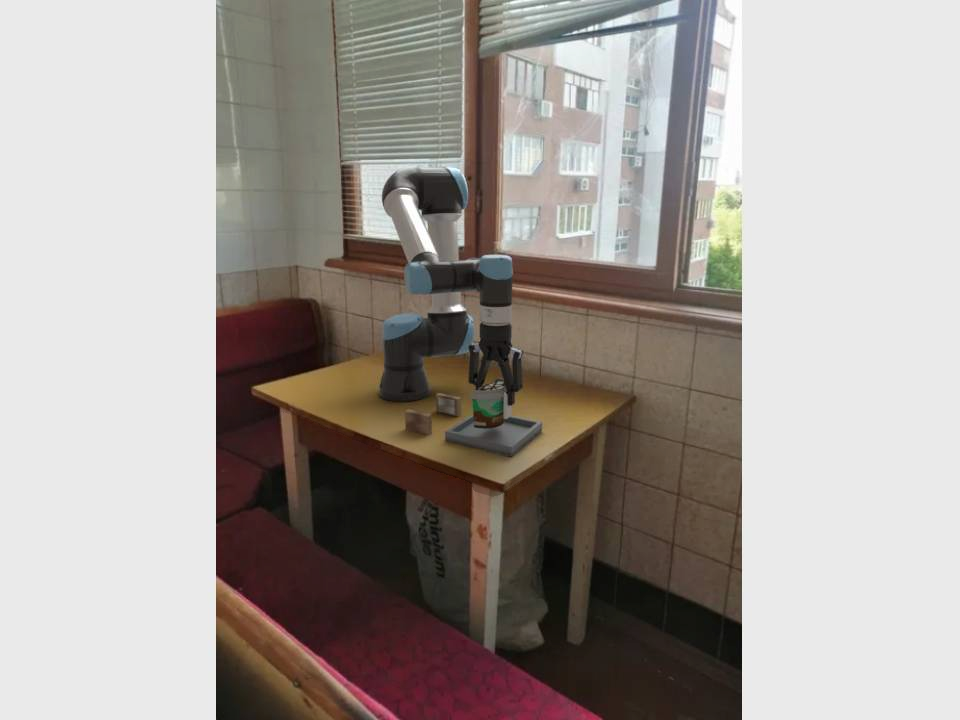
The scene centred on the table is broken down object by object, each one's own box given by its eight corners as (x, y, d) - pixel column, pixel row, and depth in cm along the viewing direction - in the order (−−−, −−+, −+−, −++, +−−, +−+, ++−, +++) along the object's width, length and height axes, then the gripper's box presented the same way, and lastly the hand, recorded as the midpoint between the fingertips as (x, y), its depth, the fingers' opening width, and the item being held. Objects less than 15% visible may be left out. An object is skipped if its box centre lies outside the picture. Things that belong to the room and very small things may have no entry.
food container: (492, 434, 138) (493, 394, 135) (470, 429, 141) (470, 390, 138) (517, 418, 148) (518, 380, 145) (496, 413, 151) (496, 376, 148)
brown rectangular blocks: (405, 429, 149) (404, 411, 148) (439, 410, 162) (439, 392, 161) (428, 435, 146) (427, 416, 145) (461, 414, 159) (461, 397, 158)
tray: (445, 440, 143) (445, 431, 142) (480, 417, 157) (480, 409, 156) (511, 457, 134) (511, 447, 134) (541, 431, 148) (542, 422, 148)
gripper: (452, 320, 139) (453, 412, 145) (525, 330, 130) (523, 427, 136) (468, 315, 145) (469, 402, 152) (539, 323, 136) (537, 416, 142)
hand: (494, 414), depth 144 cm, fingers closed on food container, 6 cm apart
